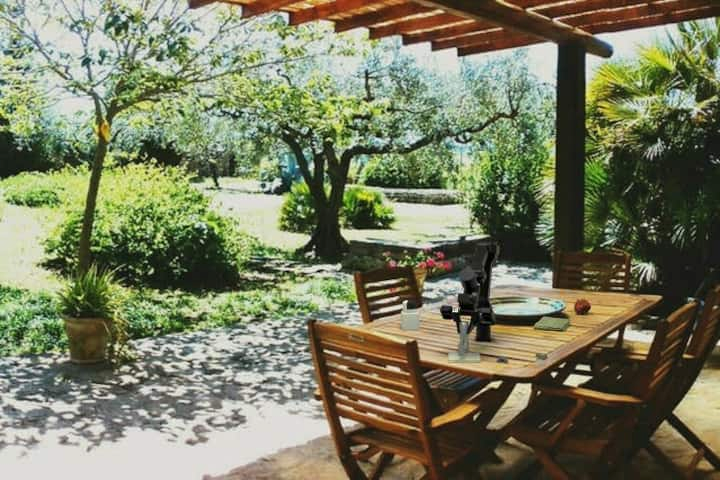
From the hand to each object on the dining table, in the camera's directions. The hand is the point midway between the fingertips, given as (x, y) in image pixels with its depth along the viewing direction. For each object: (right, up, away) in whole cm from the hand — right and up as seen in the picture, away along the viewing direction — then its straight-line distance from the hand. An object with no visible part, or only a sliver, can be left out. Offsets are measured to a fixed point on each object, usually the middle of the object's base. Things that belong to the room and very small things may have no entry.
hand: (463, 333), depth 254 cm
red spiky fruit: (+66, -1, +77) cm, 101 cm away
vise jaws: (+20, -9, -2) cm, 22 cm away
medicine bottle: (-15, -5, +54) cm, 56 cm away
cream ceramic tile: (+1, -9, +2) cm, 9 cm away
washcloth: (+45, -4, +52) cm, 69 cm away
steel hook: (0, -7, 0) cm, 7 cm away
